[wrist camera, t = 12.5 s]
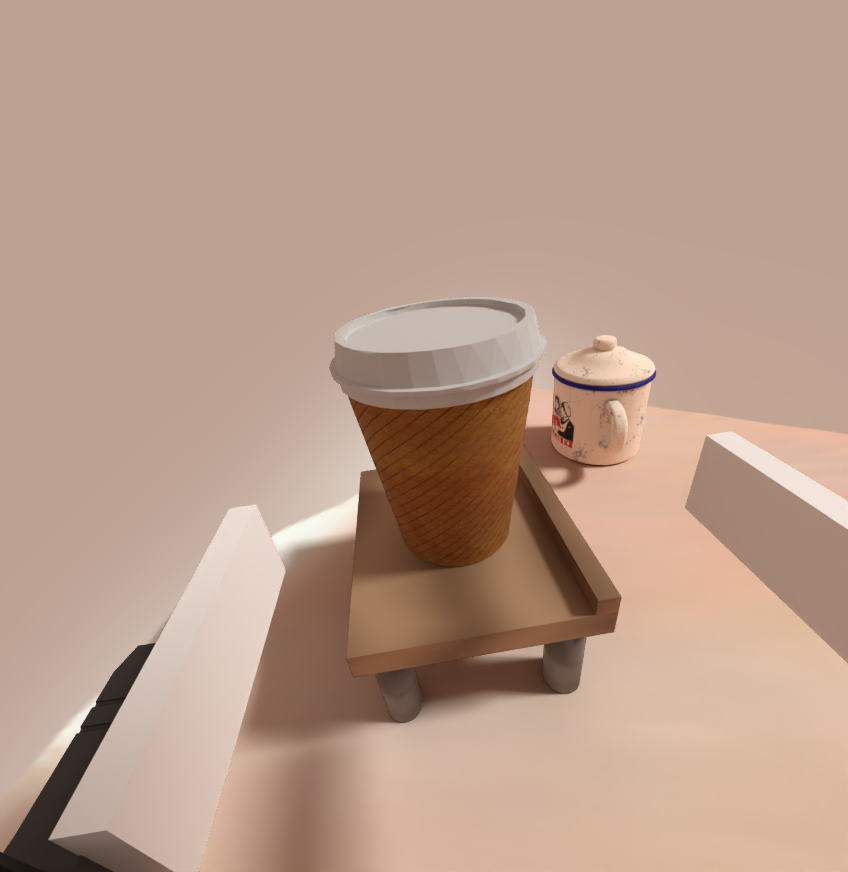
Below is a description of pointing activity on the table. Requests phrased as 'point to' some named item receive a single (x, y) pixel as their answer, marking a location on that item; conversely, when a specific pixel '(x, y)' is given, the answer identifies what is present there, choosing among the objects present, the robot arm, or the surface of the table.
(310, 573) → the table surface
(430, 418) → the disposable coffee cup
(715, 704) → the table surface
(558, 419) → the teacup with lid
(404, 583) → the peg shelf
